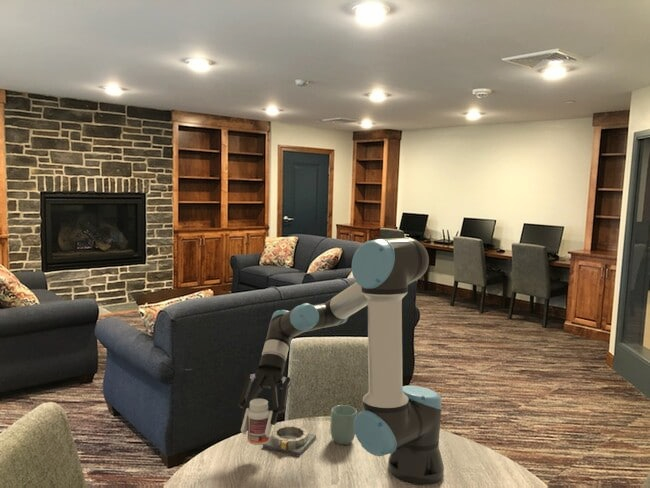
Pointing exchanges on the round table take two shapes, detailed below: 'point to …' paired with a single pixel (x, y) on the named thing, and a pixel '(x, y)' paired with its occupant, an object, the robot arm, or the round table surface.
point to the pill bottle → (258, 421)
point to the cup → (343, 424)
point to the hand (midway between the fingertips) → (255, 433)
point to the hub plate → (290, 450)
